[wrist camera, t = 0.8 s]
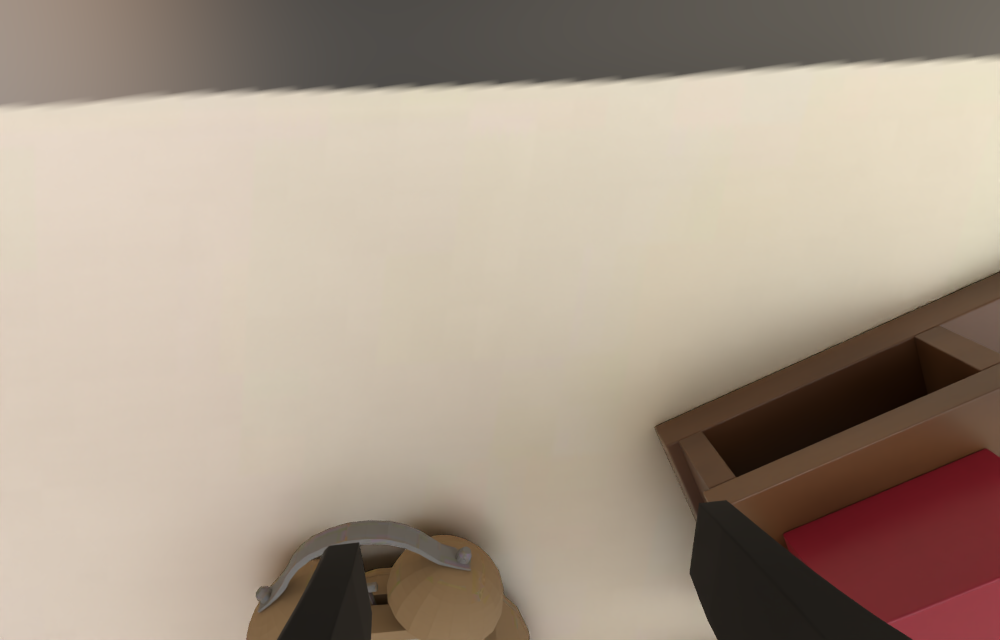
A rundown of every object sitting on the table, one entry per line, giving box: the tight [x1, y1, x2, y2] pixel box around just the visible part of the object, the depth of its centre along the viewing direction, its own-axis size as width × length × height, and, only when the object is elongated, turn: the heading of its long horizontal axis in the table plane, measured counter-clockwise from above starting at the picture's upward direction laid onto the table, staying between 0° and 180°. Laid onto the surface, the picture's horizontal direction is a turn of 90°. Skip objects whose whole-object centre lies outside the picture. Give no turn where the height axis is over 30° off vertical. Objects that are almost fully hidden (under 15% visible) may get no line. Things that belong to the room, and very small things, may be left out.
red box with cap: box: [783, 449, 1000, 640], centre depth 18 cm, size 4×8×4 cm, turn 116°
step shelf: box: [655, 272, 1000, 551], centre depth 22 cm, size 10×21×6 cm, turn 116°
